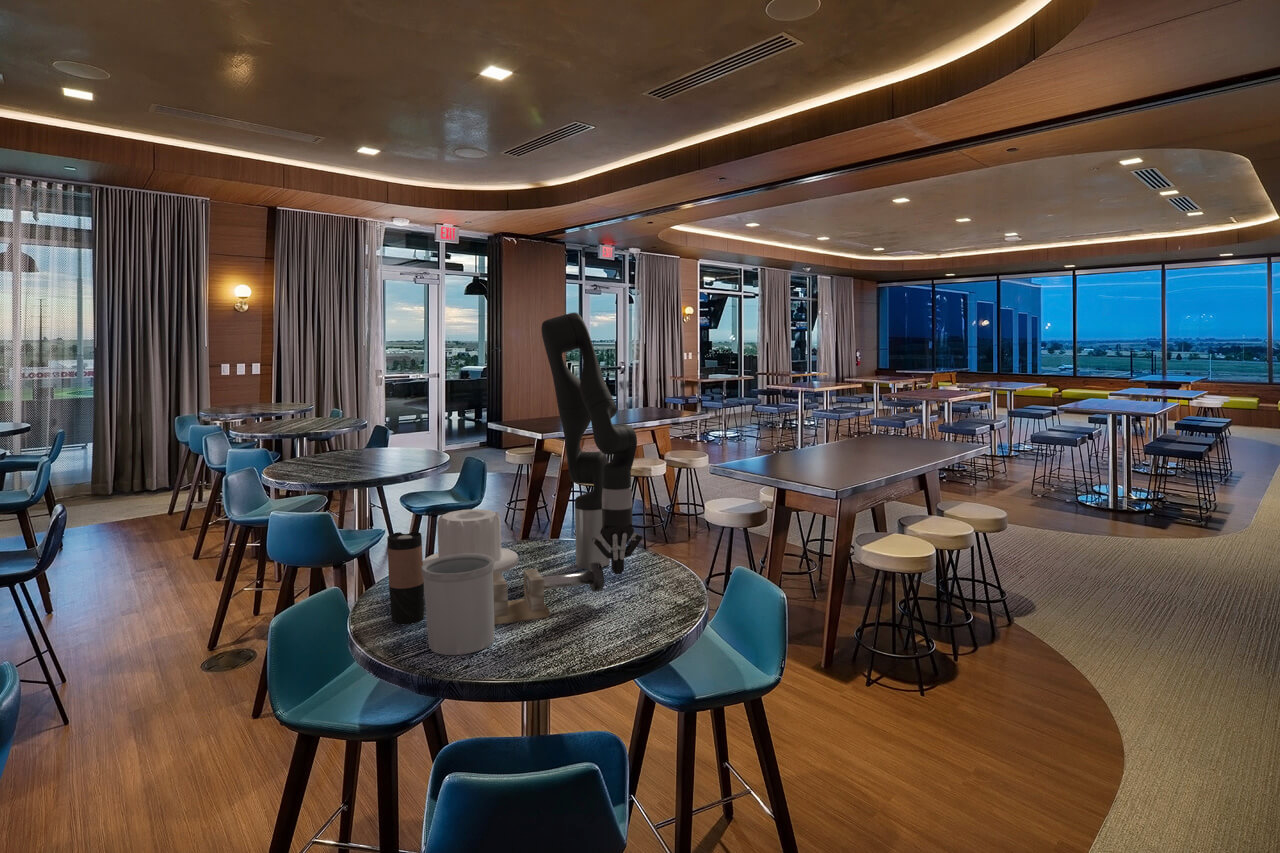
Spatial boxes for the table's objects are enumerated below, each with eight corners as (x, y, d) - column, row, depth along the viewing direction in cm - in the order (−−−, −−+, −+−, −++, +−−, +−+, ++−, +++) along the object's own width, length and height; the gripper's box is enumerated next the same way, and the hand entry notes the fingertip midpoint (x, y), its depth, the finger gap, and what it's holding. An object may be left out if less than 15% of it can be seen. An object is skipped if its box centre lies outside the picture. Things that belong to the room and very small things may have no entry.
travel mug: (405, 628, 155) (401, 541, 153) (383, 621, 159) (379, 536, 157) (432, 617, 161) (428, 533, 159) (410, 610, 165) (406, 529, 163)
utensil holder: (409, 651, 142) (406, 569, 141) (453, 625, 156) (450, 550, 154) (469, 662, 137) (466, 576, 135) (509, 633, 151) (507, 556, 149)
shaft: (595, 585, 173) (595, 558, 172) (604, 594, 167) (603, 566, 166) (524, 595, 167) (524, 567, 166) (530, 604, 160) (530, 575, 160)
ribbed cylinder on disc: (469, 607, 167) (466, 531, 165) (402, 589, 181) (399, 518, 179) (537, 579, 188) (536, 511, 186) (473, 564, 202) (471, 501, 200)
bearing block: (539, 602, 170) (539, 567, 169) (549, 616, 161) (548, 579, 160) (486, 609, 165) (485, 573, 164) (493, 624, 156) (492, 586, 155)
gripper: (636, 500, 175) (637, 566, 177) (587, 504, 171) (588, 572, 172) (647, 506, 168) (647, 574, 170) (595, 510, 164) (596, 581, 165)
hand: (617, 573), depth 171 cm, fingers closed
